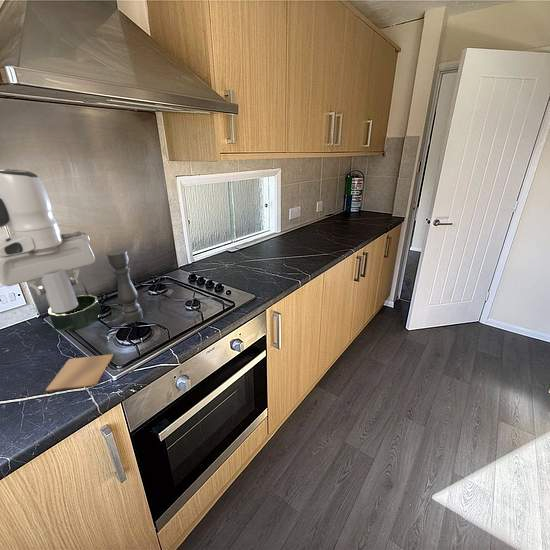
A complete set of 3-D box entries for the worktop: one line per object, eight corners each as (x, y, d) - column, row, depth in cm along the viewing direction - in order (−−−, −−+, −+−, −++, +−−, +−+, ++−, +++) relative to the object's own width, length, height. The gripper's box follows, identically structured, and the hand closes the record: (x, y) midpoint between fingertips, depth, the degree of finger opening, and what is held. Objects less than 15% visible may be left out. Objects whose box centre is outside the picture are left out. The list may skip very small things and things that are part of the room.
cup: (47, 314, 77) (32, 276, 73) (59, 303, 83) (46, 267, 78) (72, 311, 78) (58, 273, 73) (82, 301, 83) (70, 265, 79)
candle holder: (120, 323, 101) (101, 255, 91) (131, 314, 107) (114, 249, 97) (136, 324, 100) (119, 255, 90) (146, 315, 106) (131, 249, 96)
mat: (45, 391, 73) (45, 390, 73) (69, 360, 84) (69, 358, 84) (96, 385, 74) (96, 383, 74) (113, 355, 85) (113, 353, 85)
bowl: (45, 332, 97) (38, 317, 95) (67, 311, 111) (62, 296, 108) (91, 328, 99) (86, 312, 97) (108, 307, 112) (104, 293, 110)
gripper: (82, 228, 81) (96, 273, 87) (-16, 246, 67) (8, 299, 73) (90, 231, 78) (104, 279, 83) (-12, 251, 64) (13, 307, 69)
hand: (58, 288), depth 78 cm, fingers closed on cup, 6 cm apart
